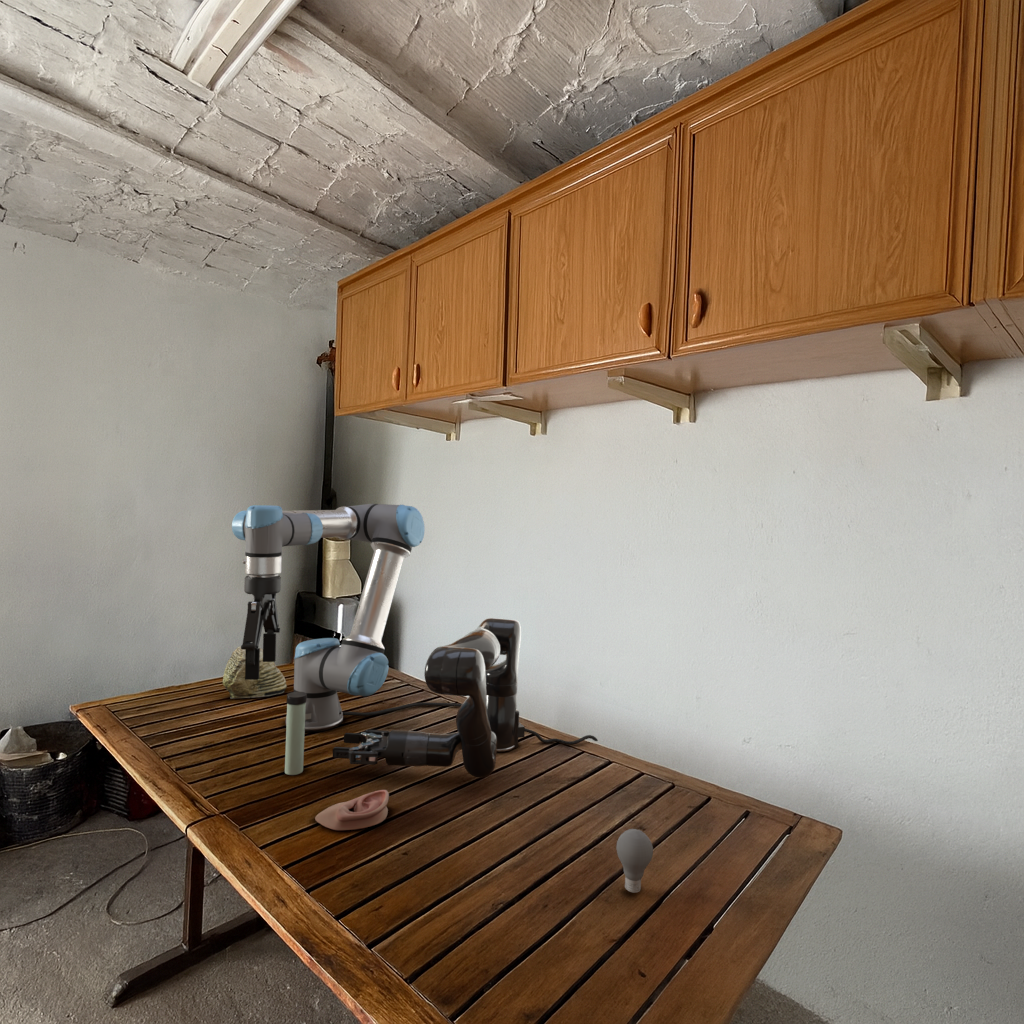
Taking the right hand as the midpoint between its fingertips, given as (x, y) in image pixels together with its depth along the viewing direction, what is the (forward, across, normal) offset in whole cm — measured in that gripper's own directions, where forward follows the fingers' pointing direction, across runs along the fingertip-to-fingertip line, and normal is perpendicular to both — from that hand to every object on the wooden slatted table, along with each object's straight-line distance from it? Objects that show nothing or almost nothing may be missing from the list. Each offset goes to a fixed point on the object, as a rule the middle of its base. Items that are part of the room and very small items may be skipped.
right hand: (338, 744), depth 145 cm
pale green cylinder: (+10, 0, +7) cm, 12 cm away
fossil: (+42, -52, +7) cm, 67 cm away
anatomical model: (-9, +19, +7) cm, 22 cm away
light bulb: (-61, +38, +7) cm, 72 cm away
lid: (+10, 0, -11) cm, 15 cm away
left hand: (+17, +4, -18) cm, 25 cm away
